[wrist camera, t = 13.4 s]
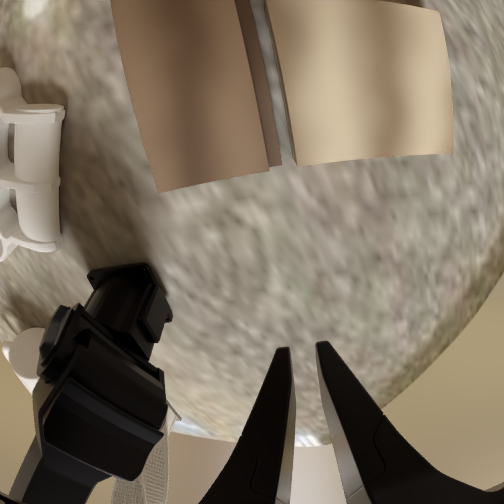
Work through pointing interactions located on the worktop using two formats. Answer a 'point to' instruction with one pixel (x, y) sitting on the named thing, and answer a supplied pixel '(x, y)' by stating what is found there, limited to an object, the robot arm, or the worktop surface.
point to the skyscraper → (149, 473)
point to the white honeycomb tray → (29, 170)
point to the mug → (25, 355)
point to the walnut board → (197, 89)
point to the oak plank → (361, 79)
